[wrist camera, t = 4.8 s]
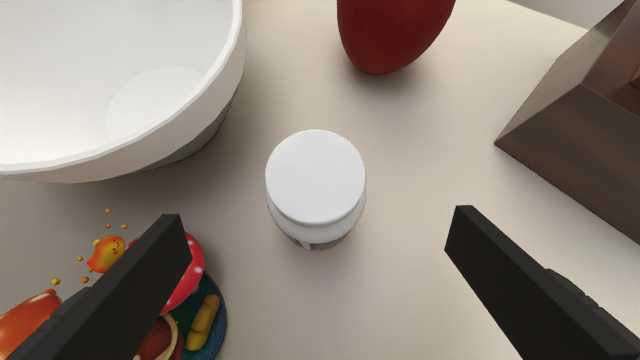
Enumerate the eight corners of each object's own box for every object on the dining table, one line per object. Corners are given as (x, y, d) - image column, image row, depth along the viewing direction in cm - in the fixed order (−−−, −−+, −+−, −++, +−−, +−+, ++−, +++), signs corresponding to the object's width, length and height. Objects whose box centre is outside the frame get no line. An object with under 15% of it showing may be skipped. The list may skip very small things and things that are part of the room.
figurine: (113, 477, 14) (-131, 711, 6) (41, 349, 16) (-200, 404, 9) (266, 306, 18) (230, 321, 10) (190, 221, 20) (113, 181, 12)
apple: (366, 13, 28) (391, -112, 19) (436, 54, 27) (504, -62, 17) (314, 61, 26) (314, -56, 16) (388, 110, 24) (436, 10, 15)
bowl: (49, 70, 25) (-104, -43, 16) (235, 17, 28) (197, -103, 19) (66, 254, 19) (-161, 244, 10) (300, 162, 22) (289, 90, 13)
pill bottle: (354, 189, 21) (384, 129, 12) (346, 256, 19) (374, 248, 10) (289, 179, 21) (269, 112, 12) (275, 244, 20) (238, 225, 10)
